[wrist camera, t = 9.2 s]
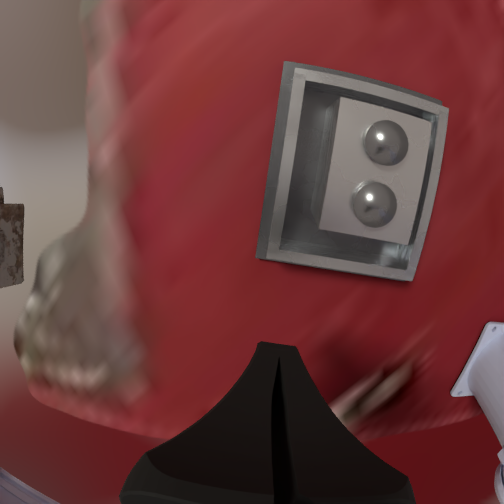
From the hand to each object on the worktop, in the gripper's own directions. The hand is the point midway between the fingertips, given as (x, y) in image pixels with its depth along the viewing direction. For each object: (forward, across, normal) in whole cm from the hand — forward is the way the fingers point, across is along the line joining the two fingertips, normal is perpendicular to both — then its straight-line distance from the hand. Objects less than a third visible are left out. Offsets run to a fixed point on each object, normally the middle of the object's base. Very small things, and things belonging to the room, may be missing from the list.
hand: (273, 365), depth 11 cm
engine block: (+9, -4, -7) cm, 12 cm away
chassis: (+10, -4, -6) cm, 12 cm away
